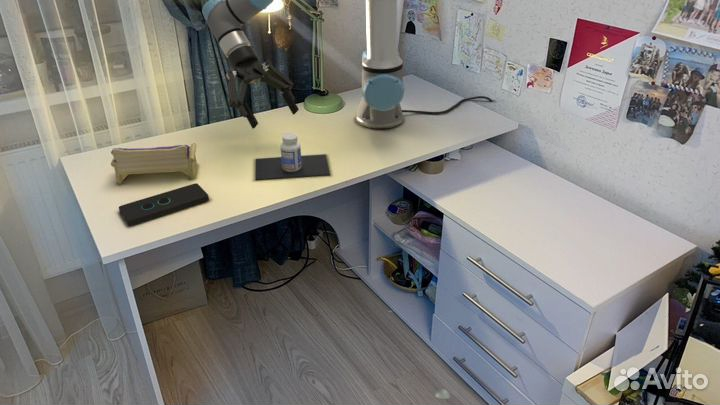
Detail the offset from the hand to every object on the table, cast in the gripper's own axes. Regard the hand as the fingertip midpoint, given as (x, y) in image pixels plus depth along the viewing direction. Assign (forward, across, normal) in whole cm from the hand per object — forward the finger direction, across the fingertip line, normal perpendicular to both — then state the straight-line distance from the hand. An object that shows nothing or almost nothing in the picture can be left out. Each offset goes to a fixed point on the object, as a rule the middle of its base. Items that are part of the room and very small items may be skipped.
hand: (276, 119), depth 153 cm
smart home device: (+9, +35, -10) cm, 37 cm away
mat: (+13, 0, -6) cm, 14 cm away
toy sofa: (-2, +28, -21) cm, 35 cm away
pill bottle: (+13, 0, -5) cm, 14 cm away
